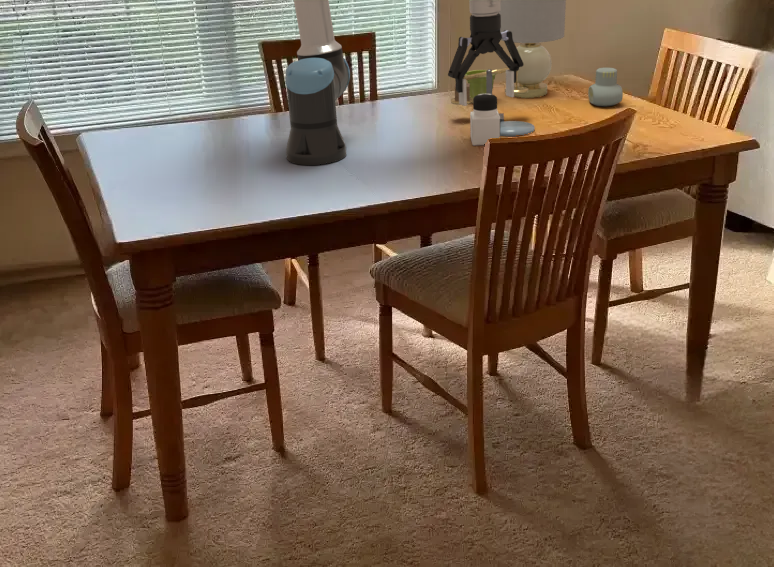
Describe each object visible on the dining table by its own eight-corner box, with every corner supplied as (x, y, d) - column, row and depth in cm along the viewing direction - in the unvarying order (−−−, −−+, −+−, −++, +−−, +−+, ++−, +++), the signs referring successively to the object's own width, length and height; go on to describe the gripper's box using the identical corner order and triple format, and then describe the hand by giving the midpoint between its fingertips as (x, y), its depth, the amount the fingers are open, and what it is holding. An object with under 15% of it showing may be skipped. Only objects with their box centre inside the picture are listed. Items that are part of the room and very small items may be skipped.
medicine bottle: (500, 144, 219) (500, 98, 214) (472, 146, 219) (472, 99, 214) (497, 136, 226) (497, 91, 220) (470, 138, 226) (470, 92, 221)
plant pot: (461, 99, 262) (461, 71, 259) (491, 96, 264) (491, 68, 260) (469, 107, 254) (469, 77, 250) (500, 104, 255) (500, 74, 252)
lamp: (576, 95, 261) (581, -29, 245) (520, 105, 253) (523, -21, 237) (536, 83, 277) (539, -34, 261) (483, 92, 269) (483, -27, 254)
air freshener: (623, 108, 244) (626, 73, 240) (594, 109, 245) (596, 74, 240) (614, 99, 254) (616, 64, 250) (586, 100, 254) (588, 66, 250)
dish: (503, 139, 223) (503, 136, 223) (481, 128, 233) (481, 125, 233) (543, 131, 227) (543, 128, 227) (519, 121, 237) (519, 118, 237)
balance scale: (450, 123, 239) (449, 69, 232) (451, 117, 245) (450, 64, 238) (528, 122, 236) (529, 67, 230) (527, 116, 242) (528, 62, 235)
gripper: (446, 22, 201) (449, 111, 210) (537, 9, 210) (536, 95, 219) (432, 18, 207) (435, 105, 217) (521, 5, 216) (521, 90, 225)
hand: (486, 100), depth 218 cm, fingers open, 13 cm apart
